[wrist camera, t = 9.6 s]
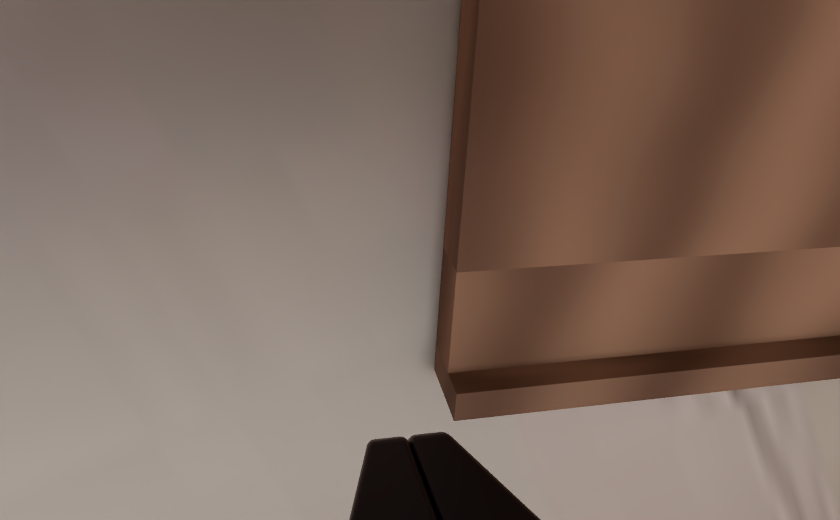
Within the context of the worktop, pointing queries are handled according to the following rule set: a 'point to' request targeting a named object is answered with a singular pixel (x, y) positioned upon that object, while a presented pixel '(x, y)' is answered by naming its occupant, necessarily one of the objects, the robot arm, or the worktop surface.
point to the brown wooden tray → (640, 202)
